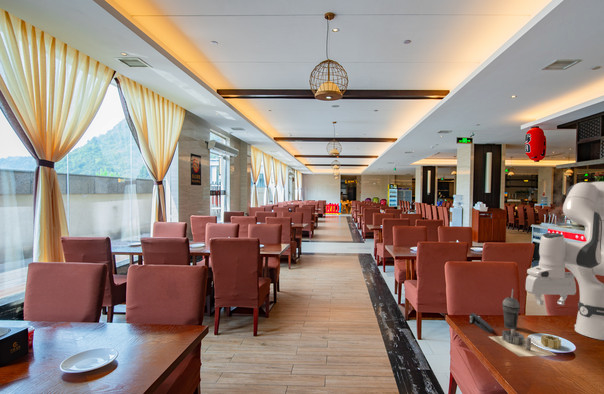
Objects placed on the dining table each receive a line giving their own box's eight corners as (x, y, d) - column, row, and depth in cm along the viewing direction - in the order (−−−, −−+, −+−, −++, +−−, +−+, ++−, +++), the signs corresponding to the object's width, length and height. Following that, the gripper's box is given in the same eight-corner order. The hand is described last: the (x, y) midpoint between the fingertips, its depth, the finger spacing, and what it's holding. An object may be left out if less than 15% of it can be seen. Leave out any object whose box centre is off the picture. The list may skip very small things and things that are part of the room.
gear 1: (508, 335, 146) (508, 328, 146) (528, 342, 139) (528, 335, 139) (497, 338, 142) (498, 332, 142) (517, 346, 135) (517, 339, 135)
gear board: (521, 338, 146) (521, 325, 146) (556, 358, 128) (557, 343, 128) (488, 339, 144) (488, 325, 144) (519, 359, 127) (519, 344, 127)
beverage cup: (514, 327, 159) (515, 286, 159) (522, 333, 151) (523, 290, 151) (498, 326, 159) (499, 285, 159) (506, 332, 152) (507, 290, 152)
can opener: (465, 322, 165) (465, 311, 165) (479, 322, 164) (479, 311, 164) (484, 337, 147) (484, 325, 147) (499, 337, 147) (500, 325, 147)
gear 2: (551, 344, 140) (551, 334, 140) (565, 351, 134) (565, 341, 134) (537, 345, 140) (537, 334, 140) (550, 352, 133) (550, 341, 133)
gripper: (567, 270, 141) (566, 302, 141) (523, 269, 139) (522, 302, 139) (581, 273, 135) (580, 307, 135) (535, 273, 133) (534, 306, 133)
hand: (550, 304), depth 137 cm, fingers open, 8 cm apart
